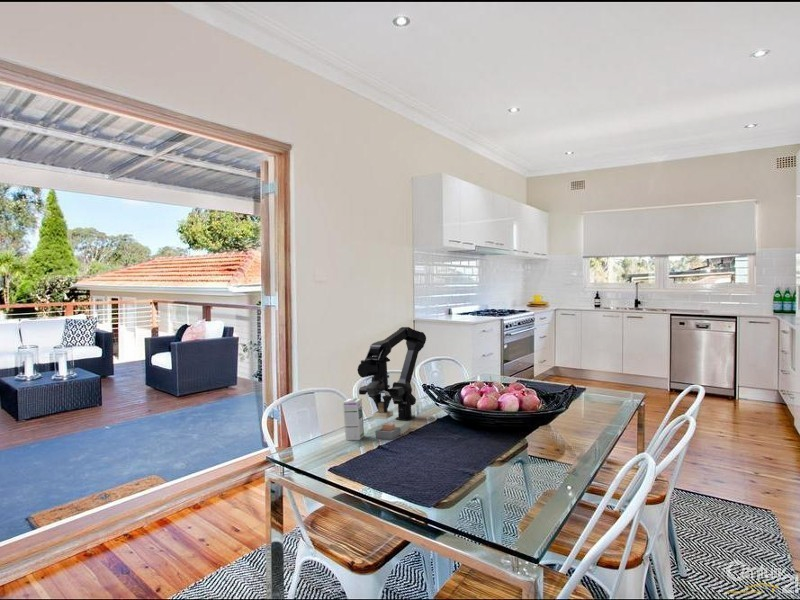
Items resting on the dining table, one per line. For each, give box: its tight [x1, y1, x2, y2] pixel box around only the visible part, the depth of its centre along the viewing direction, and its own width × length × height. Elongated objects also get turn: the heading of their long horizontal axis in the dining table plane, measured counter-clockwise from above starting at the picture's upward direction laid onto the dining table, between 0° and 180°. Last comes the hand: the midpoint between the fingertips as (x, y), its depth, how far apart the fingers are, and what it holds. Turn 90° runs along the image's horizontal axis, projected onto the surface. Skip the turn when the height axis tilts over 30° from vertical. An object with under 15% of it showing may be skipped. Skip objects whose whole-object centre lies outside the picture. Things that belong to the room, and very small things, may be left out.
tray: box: [374, 427, 402, 441], centre depth 180 cm, size 7×7×3 cm
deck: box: [389, 420, 410, 435], centre depth 186 cm, size 7×7×3 cm
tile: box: [381, 422, 395, 432], centre depth 181 cm, size 4×4×2 cm
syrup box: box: [342, 397, 365, 441], centre depth 181 cm, size 6×6×14 cm
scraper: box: [372, 400, 394, 420], centre depth 196 cm, size 6×6×6 cm
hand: (382, 411), depth 196 cm, fingers closed on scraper, 2 cm apart
